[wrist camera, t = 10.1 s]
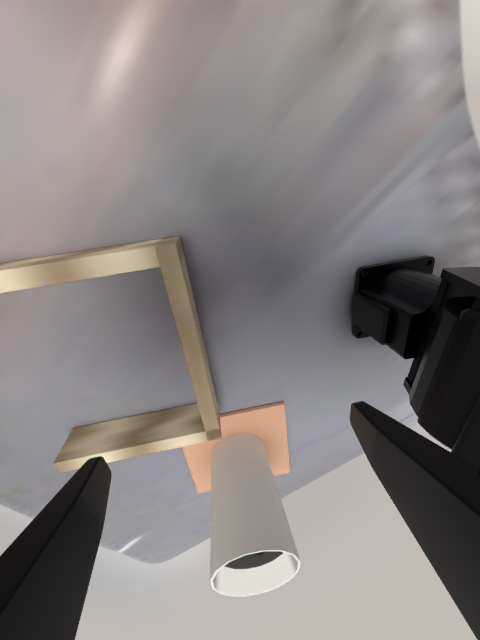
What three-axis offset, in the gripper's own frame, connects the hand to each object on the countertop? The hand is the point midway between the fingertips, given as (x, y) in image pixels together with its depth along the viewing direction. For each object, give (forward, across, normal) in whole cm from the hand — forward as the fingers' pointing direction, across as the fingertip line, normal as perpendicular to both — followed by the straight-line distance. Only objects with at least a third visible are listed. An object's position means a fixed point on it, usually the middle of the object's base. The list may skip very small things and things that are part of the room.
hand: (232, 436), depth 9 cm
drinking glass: (+12, 0, +17) cm, 21 cm away
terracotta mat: (+12, 0, +17) cm, 21 cm away
